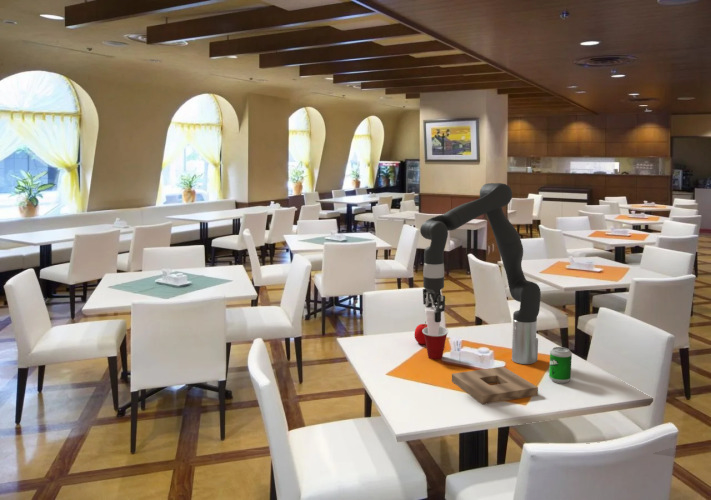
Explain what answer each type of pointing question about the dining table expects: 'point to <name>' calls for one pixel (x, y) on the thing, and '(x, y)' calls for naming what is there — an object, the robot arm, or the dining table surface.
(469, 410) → the dining table surface
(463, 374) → the socket board
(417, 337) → the fruit
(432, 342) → the plastic cup
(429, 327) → the smoothie
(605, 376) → the dining table surface
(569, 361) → the soda can
